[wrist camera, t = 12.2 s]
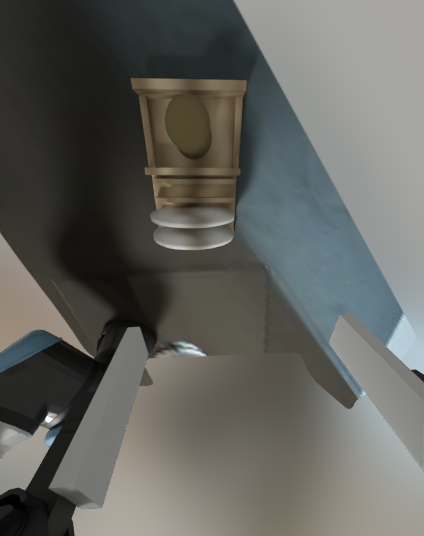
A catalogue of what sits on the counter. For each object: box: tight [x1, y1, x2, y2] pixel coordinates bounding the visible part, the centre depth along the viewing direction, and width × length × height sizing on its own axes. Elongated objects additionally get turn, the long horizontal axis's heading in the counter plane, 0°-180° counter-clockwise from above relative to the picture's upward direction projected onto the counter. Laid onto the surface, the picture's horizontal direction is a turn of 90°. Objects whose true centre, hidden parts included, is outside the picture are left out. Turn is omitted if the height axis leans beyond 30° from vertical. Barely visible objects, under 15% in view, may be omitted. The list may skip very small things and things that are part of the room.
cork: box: [165, 93, 212, 159], centre depth 24 cm, size 6×6×11 cm
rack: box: [131, 78, 247, 250], centre depth 26 cm, size 15×22×14 cm
